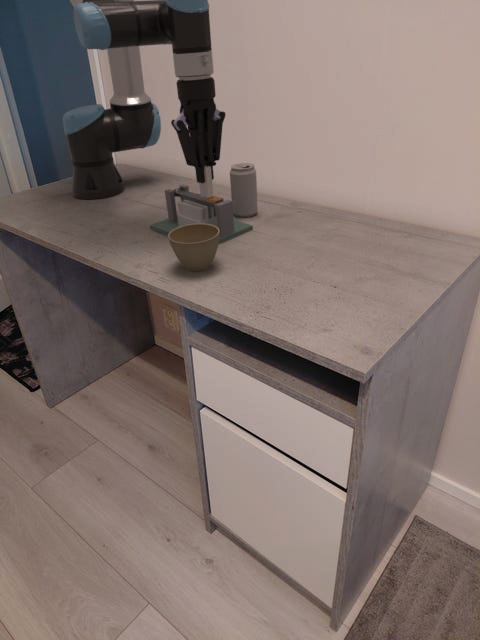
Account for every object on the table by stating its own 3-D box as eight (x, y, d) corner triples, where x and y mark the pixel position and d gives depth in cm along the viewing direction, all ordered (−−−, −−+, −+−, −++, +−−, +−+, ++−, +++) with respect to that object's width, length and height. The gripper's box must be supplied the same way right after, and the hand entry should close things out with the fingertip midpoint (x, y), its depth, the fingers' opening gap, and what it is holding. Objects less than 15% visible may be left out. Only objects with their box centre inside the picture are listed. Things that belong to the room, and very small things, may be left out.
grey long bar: (171, 196, 113) (170, 188, 112) (179, 193, 114) (178, 186, 114) (215, 209, 103) (214, 201, 102) (224, 206, 105) (223, 198, 104)
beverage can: (247, 220, 116) (245, 170, 109) (227, 215, 119) (223, 167, 113) (262, 212, 120) (261, 163, 114) (242, 208, 123) (240, 161, 117)
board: (150, 229, 114) (144, 194, 110) (197, 211, 123) (194, 179, 118) (204, 250, 102) (200, 212, 97) (252, 229, 110) (251, 193, 106)
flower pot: (196, 251, 101) (193, 219, 97) (232, 262, 96) (230, 229, 92) (162, 269, 95) (157, 235, 91) (198, 282, 89) (194, 247, 86)
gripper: (181, 81, 87) (195, 207, 99) (232, 74, 94) (239, 191, 107) (156, 81, 92) (173, 200, 104) (207, 74, 99) (217, 186, 111)
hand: (207, 196), depth 105 cm, fingers closed
